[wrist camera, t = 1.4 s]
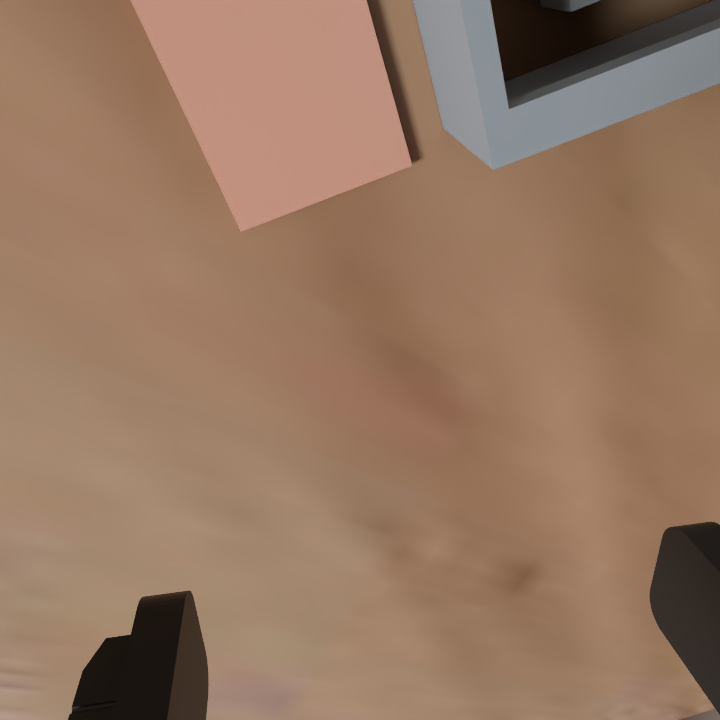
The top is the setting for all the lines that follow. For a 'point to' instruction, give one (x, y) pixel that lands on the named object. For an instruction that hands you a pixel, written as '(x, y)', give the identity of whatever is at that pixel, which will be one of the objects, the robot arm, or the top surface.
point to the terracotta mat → (280, 97)
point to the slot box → (558, 77)
